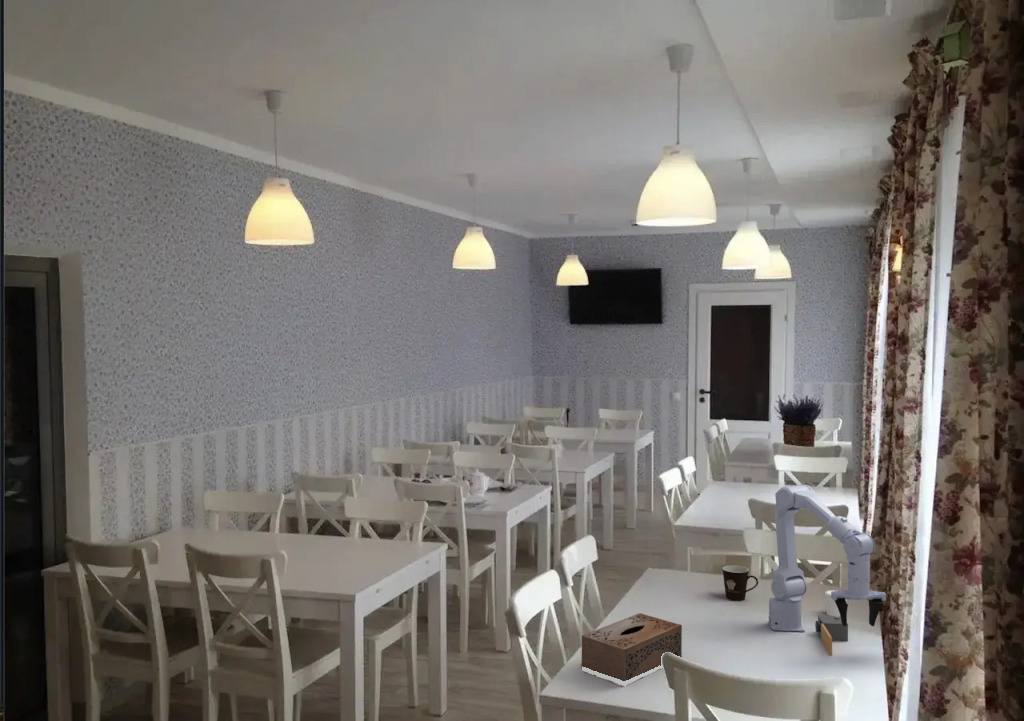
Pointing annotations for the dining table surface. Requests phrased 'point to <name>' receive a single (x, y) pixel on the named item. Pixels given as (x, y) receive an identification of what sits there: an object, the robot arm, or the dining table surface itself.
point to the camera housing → (833, 627)
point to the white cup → (831, 604)
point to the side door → (826, 639)
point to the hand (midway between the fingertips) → (857, 624)
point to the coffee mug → (736, 582)
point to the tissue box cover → (630, 646)
